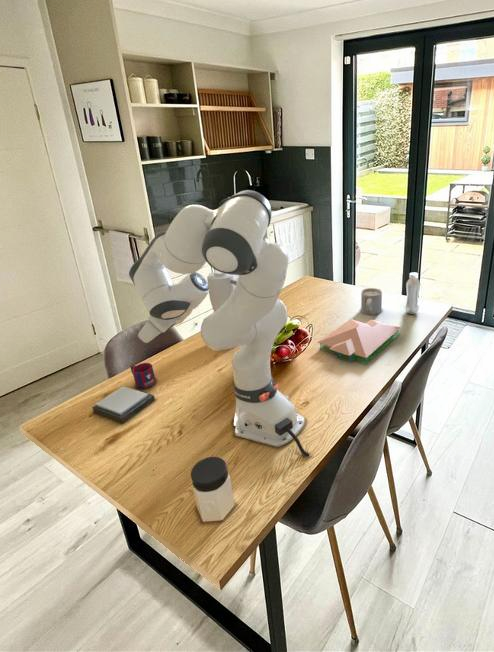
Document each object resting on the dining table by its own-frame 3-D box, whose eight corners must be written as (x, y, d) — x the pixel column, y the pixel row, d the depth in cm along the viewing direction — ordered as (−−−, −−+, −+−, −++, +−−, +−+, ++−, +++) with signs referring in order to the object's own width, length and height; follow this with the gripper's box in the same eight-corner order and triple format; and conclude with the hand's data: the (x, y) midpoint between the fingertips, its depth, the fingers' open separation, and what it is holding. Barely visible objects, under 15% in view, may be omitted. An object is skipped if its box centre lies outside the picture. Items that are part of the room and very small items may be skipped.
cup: (142, 391, 141) (138, 374, 138) (127, 382, 147) (123, 366, 144) (159, 382, 146) (155, 366, 143) (144, 373, 151) (140, 358, 149)
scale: (155, 400, 136) (153, 393, 135) (123, 423, 125) (121, 416, 124) (126, 390, 142) (124, 383, 141) (93, 412, 131) (91, 405, 130)
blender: (209, 344, 171) (197, 273, 159) (228, 332, 181) (219, 265, 169) (237, 352, 164) (227, 279, 152) (255, 339, 174) (248, 270, 161)
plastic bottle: (403, 309, 197) (405, 271, 189) (417, 309, 196) (420, 271, 188) (404, 315, 191) (406, 275, 184) (419, 315, 190) (421, 276, 183)
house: (313, 352, 162) (312, 334, 159) (355, 322, 186) (355, 306, 183) (362, 368, 149) (362, 349, 146) (400, 334, 174) (401, 317, 171)
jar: (193, 523, 92) (184, 485, 87) (200, 494, 99) (193, 457, 94) (232, 520, 92) (225, 482, 87) (236, 491, 100) (231, 455, 95)
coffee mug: (366, 305, 204) (366, 286, 201) (384, 308, 200) (384, 289, 196) (355, 314, 194) (355, 295, 190) (374, 318, 189) (374, 299, 185)
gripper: (185, 288, 132) (166, 309, 139) (145, 318, 115) (125, 341, 122) (199, 301, 133) (179, 322, 140) (162, 333, 116) (141, 355, 123)
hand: (154, 331), depth 131 cm, fingers open, 8 cm apart
